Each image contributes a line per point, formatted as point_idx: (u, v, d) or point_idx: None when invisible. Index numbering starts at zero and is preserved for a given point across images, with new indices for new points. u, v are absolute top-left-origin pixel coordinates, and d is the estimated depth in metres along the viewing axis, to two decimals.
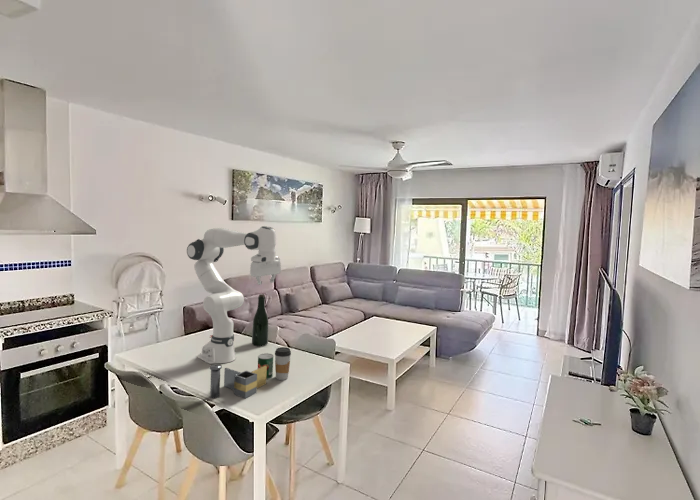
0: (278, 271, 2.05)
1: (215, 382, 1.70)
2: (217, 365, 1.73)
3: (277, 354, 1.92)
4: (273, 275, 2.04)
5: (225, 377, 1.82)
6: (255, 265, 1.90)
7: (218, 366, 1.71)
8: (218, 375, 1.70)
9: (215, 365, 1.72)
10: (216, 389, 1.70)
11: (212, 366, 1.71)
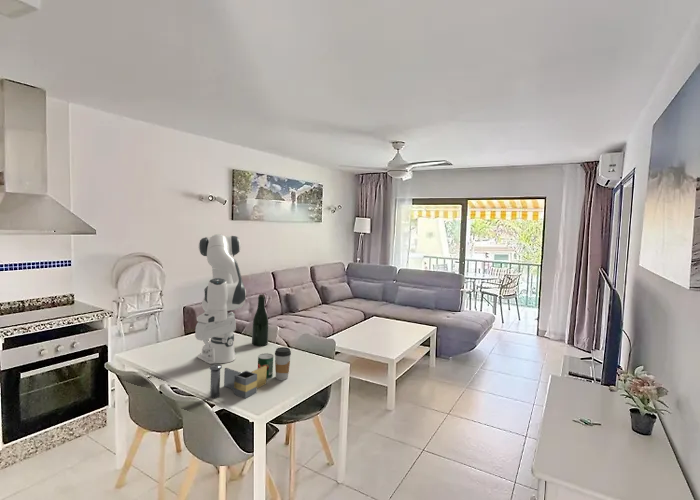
0: (232, 329, 1.76)
1: (215, 382, 1.70)
2: (217, 365, 1.73)
3: (277, 354, 1.92)
4: (226, 334, 1.74)
5: (225, 377, 1.82)
6: (201, 327, 1.61)
7: (218, 366, 1.71)
8: (218, 375, 1.70)
9: (215, 365, 1.72)
10: (216, 389, 1.70)
11: (212, 366, 1.71)
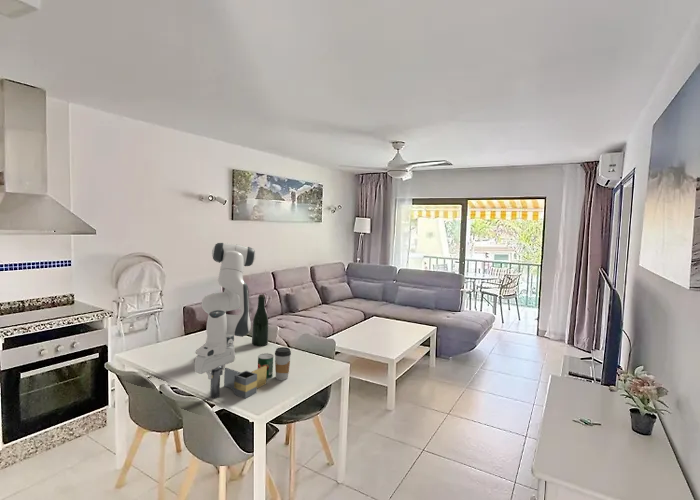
0: (231, 360, 1.77)
1: (215, 382, 1.70)
2: None
3: (277, 354, 1.92)
4: None
5: (225, 377, 1.82)
6: (200, 360, 1.62)
7: None
8: (218, 375, 1.70)
9: None
10: (216, 389, 1.70)
11: None
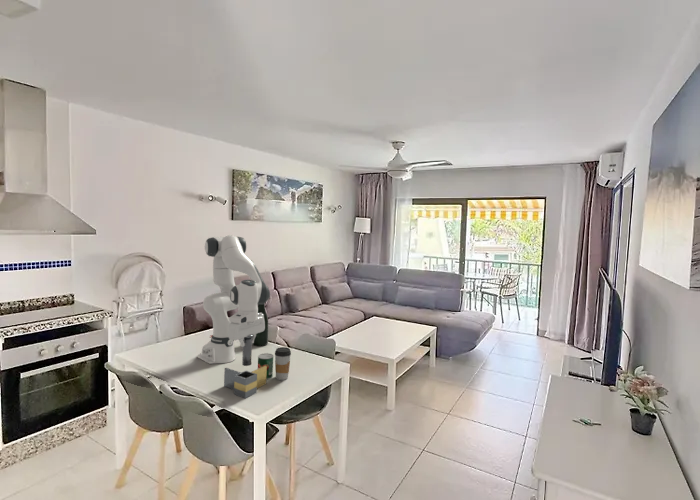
0: (261, 329, 1.80)
1: (248, 350, 1.73)
2: None
3: (277, 354, 1.92)
4: (253, 335, 1.77)
5: (225, 377, 1.82)
6: (234, 327, 1.65)
7: None
8: (250, 343, 1.74)
9: None
10: (248, 357, 1.73)
11: None
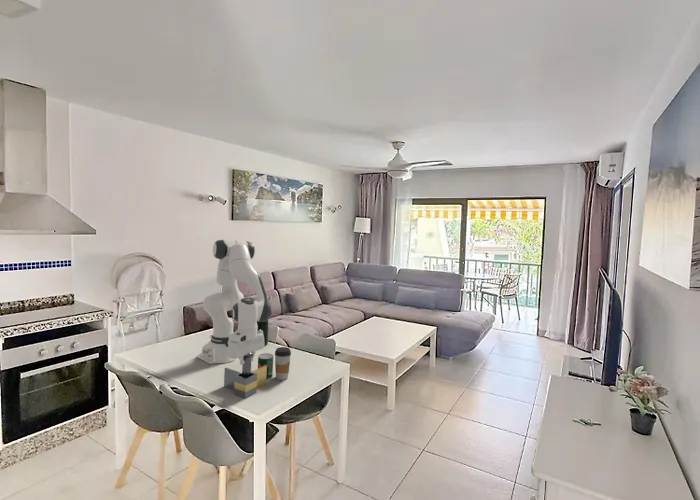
0: (261, 346, 1.81)
1: (247, 368, 1.74)
2: None
3: (277, 354, 1.92)
4: None
5: (225, 377, 1.82)
6: (233, 346, 1.66)
7: None
8: (250, 361, 1.74)
9: None
10: (248, 374, 1.74)
11: None
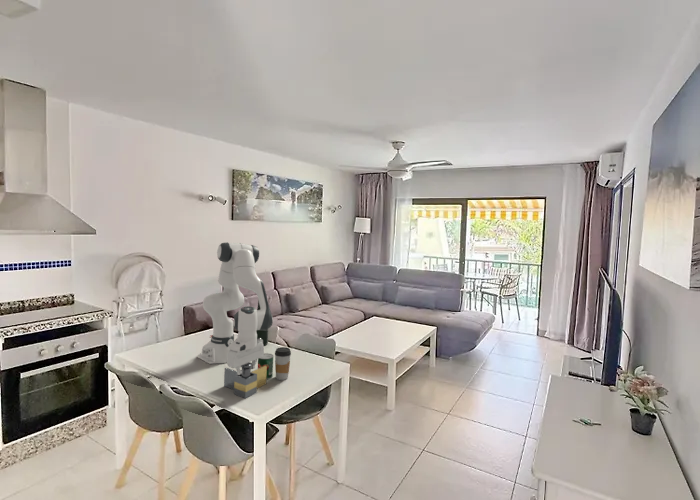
0: (260, 355, 1.81)
1: None
2: (248, 363, 1.77)
3: (277, 354, 1.92)
4: (254, 360, 1.79)
5: (225, 377, 1.82)
6: (233, 355, 1.66)
7: (249, 364, 1.76)
8: (249, 373, 1.75)
9: (246, 363, 1.77)
10: None
11: None
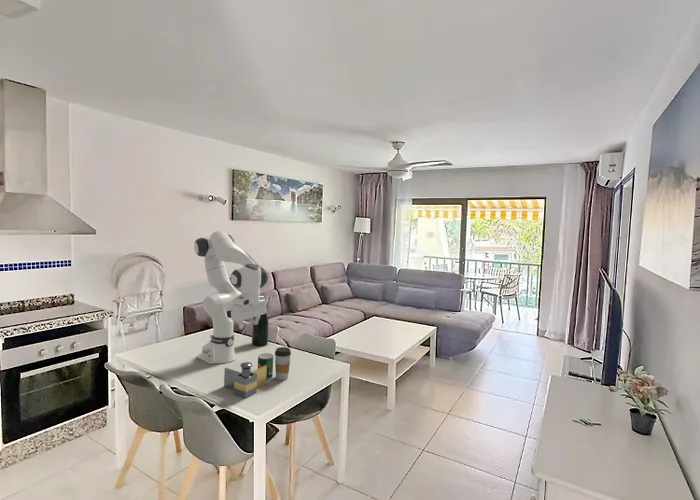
0: (263, 312, 1.87)
1: None
2: (248, 363, 1.77)
3: (277, 354, 1.92)
4: (257, 316, 1.86)
5: (225, 377, 1.82)
6: (237, 308, 1.72)
7: (249, 364, 1.76)
8: (249, 373, 1.75)
9: (245, 363, 1.76)
10: None
11: (243, 364, 1.75)
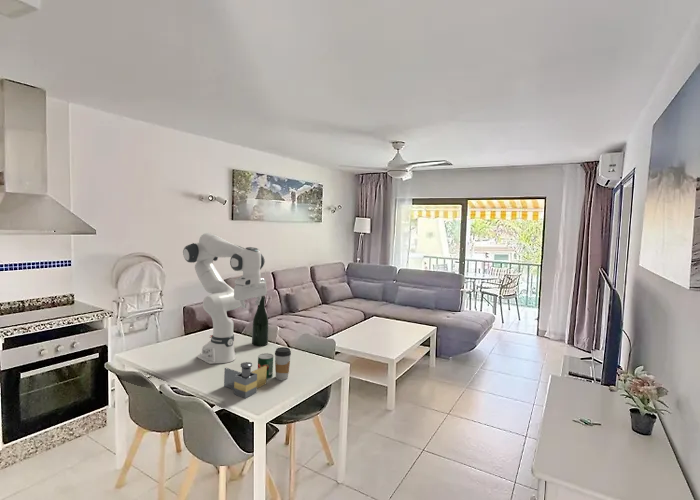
0: (264, 293, 1.97)
1: None
2: (248, 363, 1.77)
3: (277, 354, 1.92)
4: (258, 297, 1.96)
5: (225, 377, 1.82)
6: (239, 288, 1.82)
7: (249, 364, 1.76)
8: (249, 373, 1.75)
9: (246, 363, 1.77)
10: None
11: (243, 364, 1.75)
